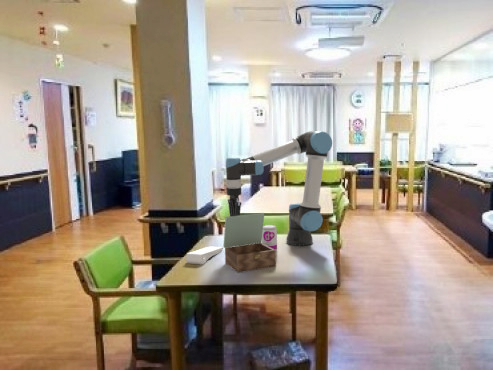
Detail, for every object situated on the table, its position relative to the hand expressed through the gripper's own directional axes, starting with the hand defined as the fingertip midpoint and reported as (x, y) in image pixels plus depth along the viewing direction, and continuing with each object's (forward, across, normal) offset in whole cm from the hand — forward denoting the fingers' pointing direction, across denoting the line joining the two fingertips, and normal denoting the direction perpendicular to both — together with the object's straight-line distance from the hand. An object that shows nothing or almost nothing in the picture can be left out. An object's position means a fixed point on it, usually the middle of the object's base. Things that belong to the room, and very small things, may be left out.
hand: (235, 231), depth 229 cm
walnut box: (+13, +18, 0) cm, 22 cm away
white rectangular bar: (+14, -6, -14) cm, 21 cm away
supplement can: (+13, +6, +17) cm, 22 cm away
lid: (-3, +12, 0) cm, 12 cm away
